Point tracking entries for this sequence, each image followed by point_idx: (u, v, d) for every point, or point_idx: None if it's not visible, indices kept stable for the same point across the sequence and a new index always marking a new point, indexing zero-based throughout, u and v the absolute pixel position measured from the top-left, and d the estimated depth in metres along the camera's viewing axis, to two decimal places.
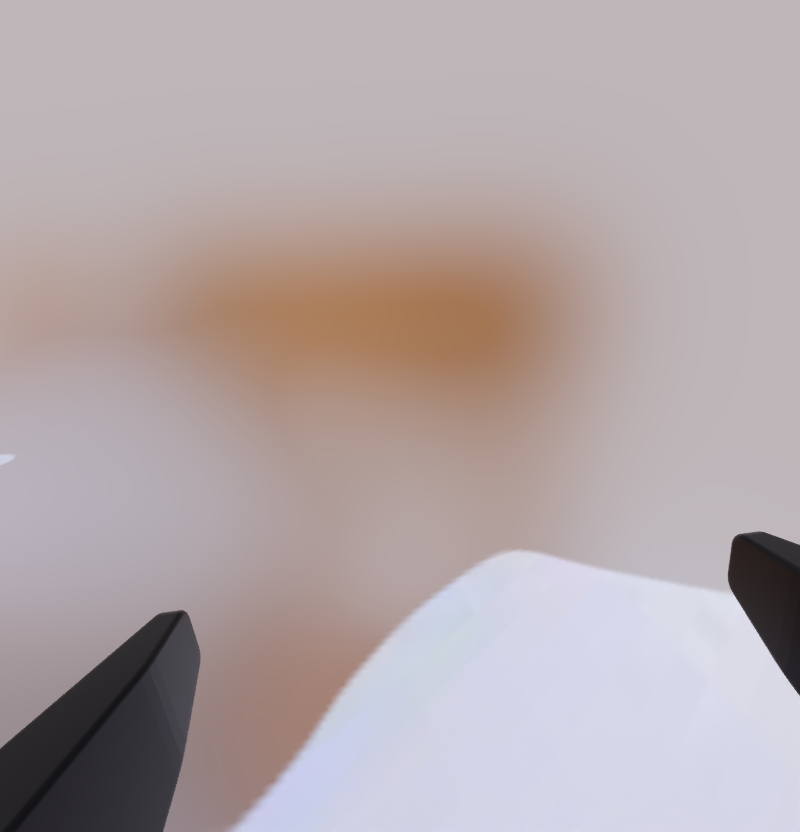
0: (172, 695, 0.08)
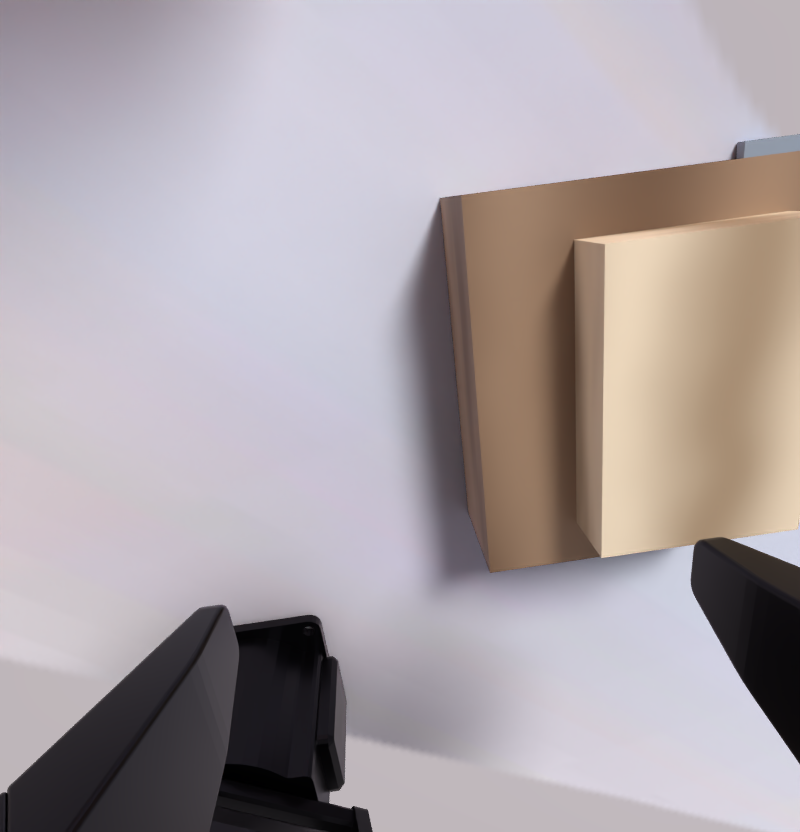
0: (216, 689, 0.08)
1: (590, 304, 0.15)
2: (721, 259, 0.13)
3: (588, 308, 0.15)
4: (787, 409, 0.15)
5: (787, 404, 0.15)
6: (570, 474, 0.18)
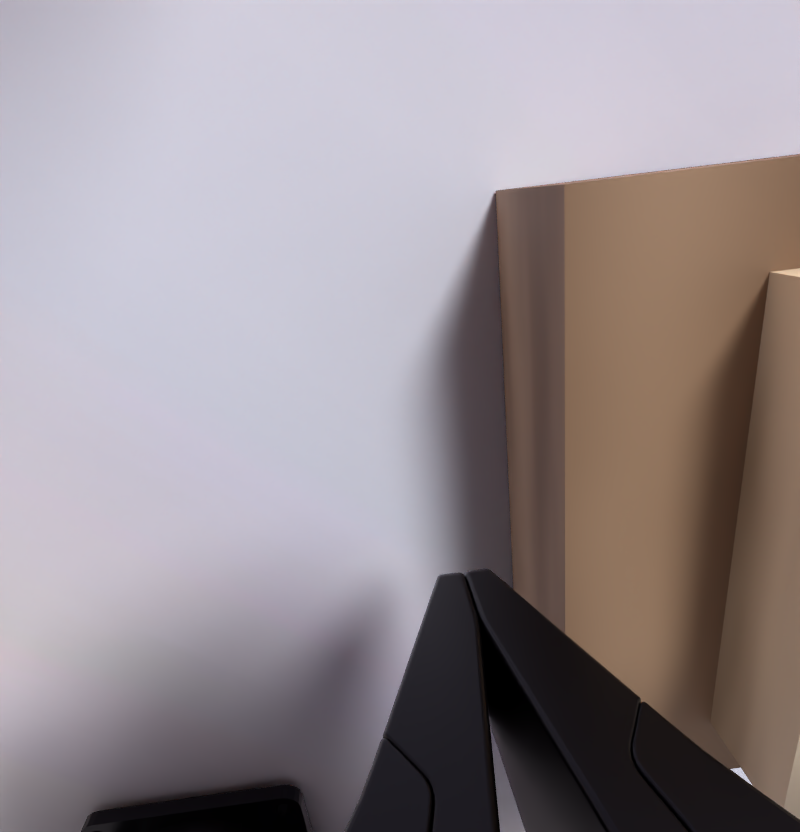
0: None
1: None
2: None
3: None
4: None
5: None
6: (710, 655, 0.11)
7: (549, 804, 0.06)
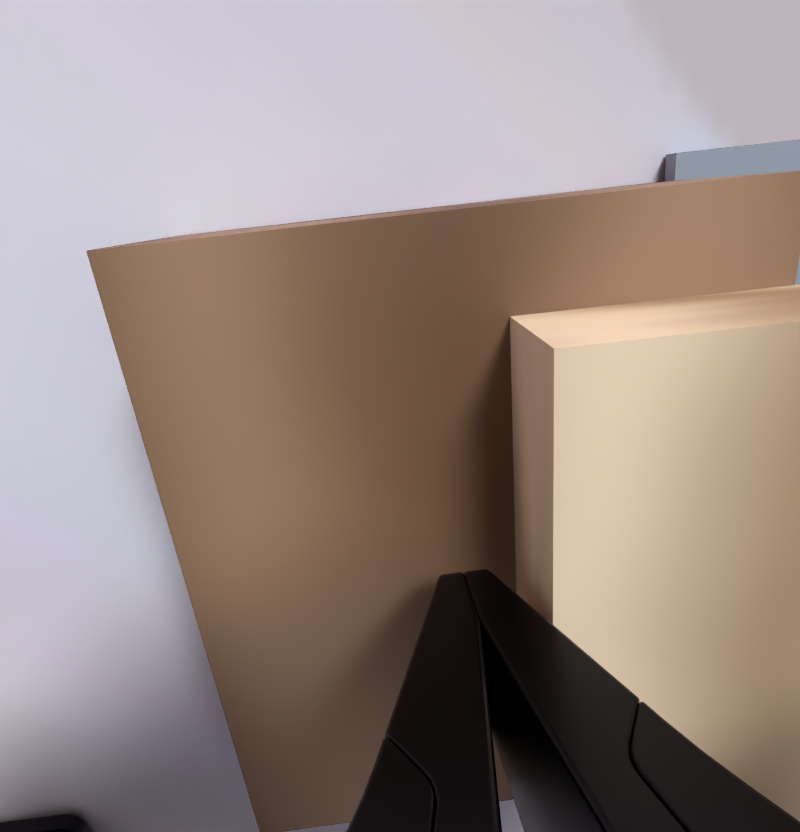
0: None
1: (532, 444, 0.08)
2: (794, 381, 0.07)
3: (530, 449, 0.08)
4: None
5: None
6: (374, 701, 0.11)
7: (547, 804, 0.06)
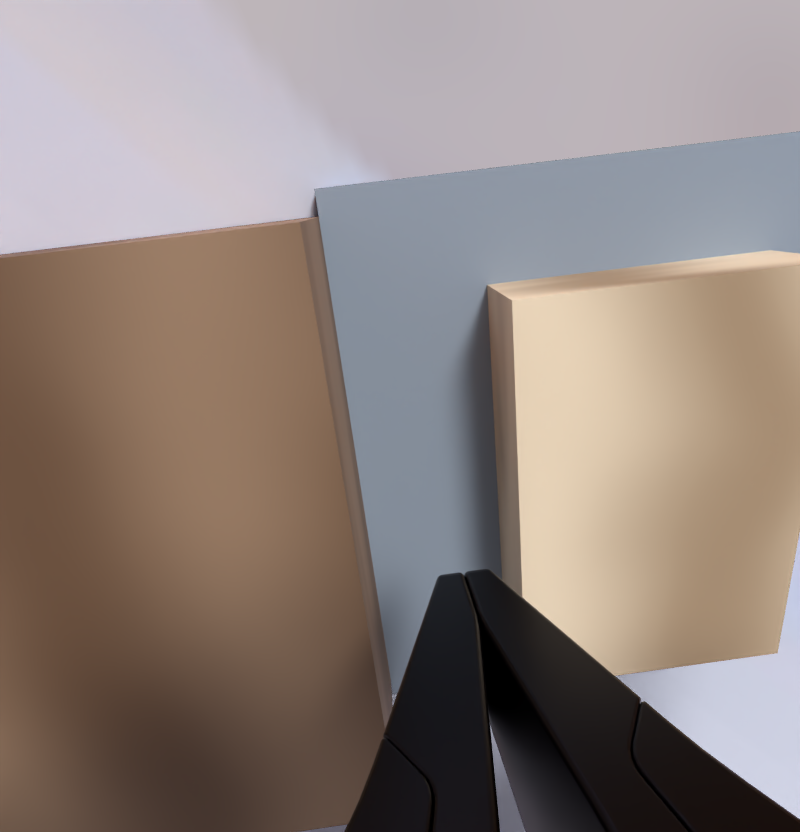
0: None
1: None
2: None
3: None
4: None
5: None
6: (0, 755, 0.10)
7: (549, 804, 0.06)
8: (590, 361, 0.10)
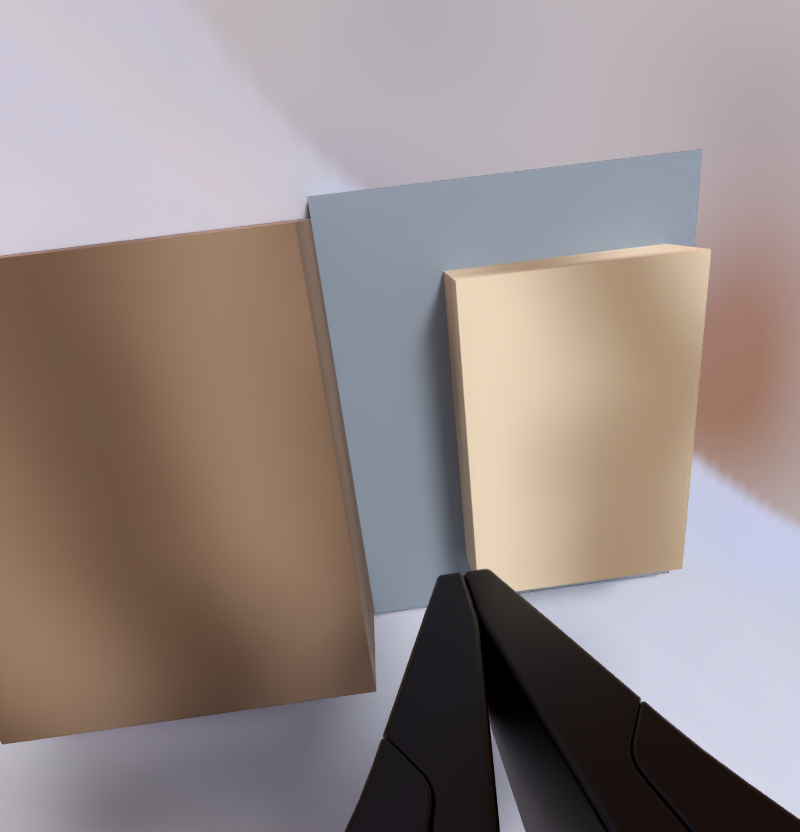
0: None
1: None
2: None
3: None
4: None
5: None
6: (67, 632, 0.13)
7: (549, 804, 0.06)
8: (517, 327, 0.13)
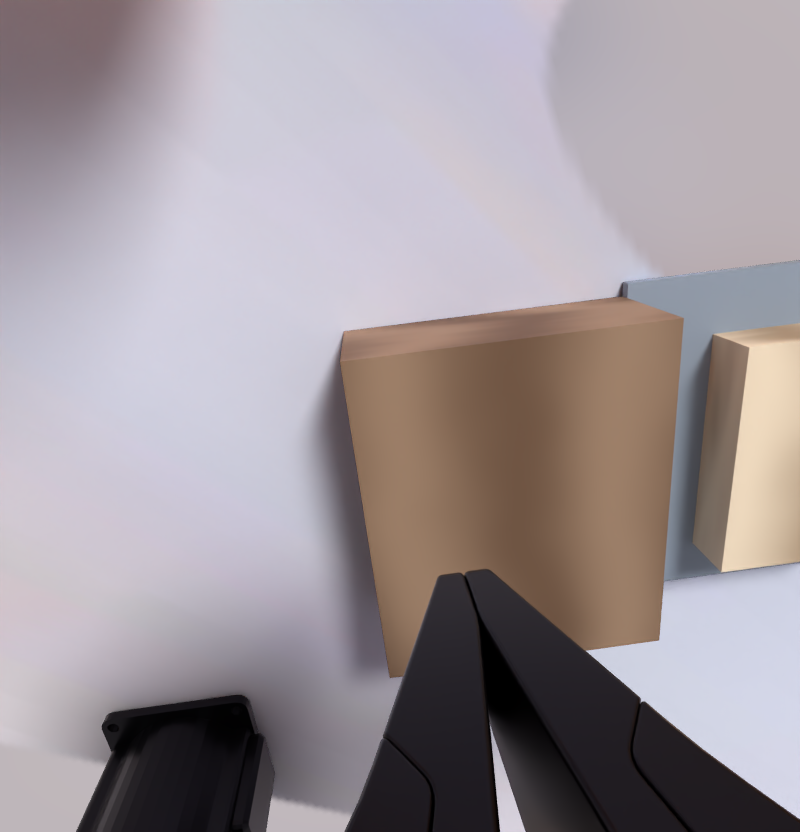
0: None
1: None
2: None
3: None
4: None
5: None
6: None
7: (549, 804, 0.06)
8: (785, 378, 0.19)
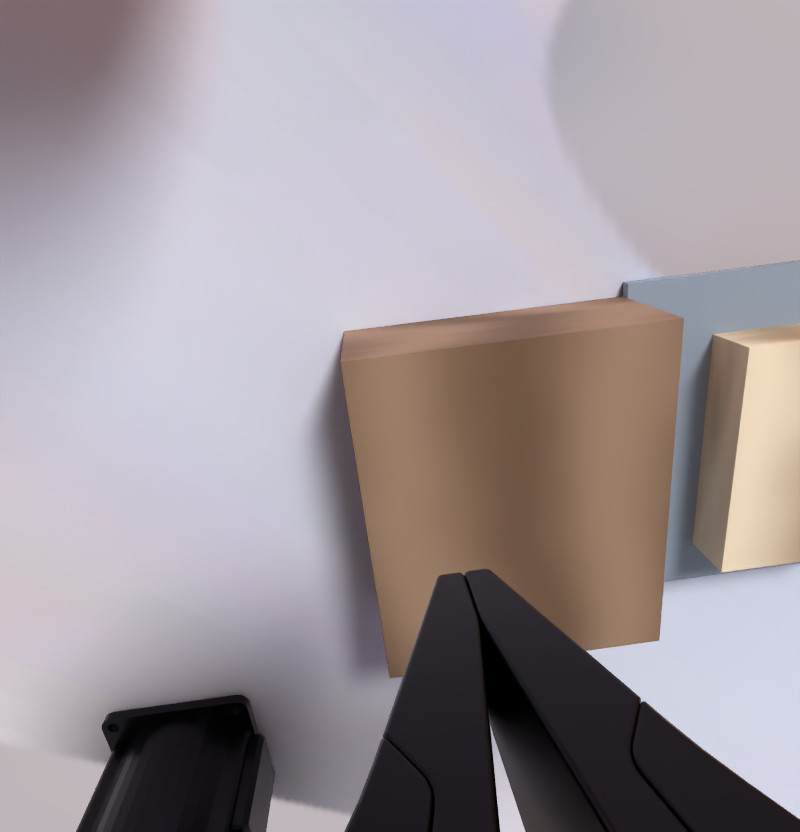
0: None
1: None
2: None
3: None
4: None
5: None
6: None
7: (549, 804, 0.06)
8: (785, 379, 0.19)
